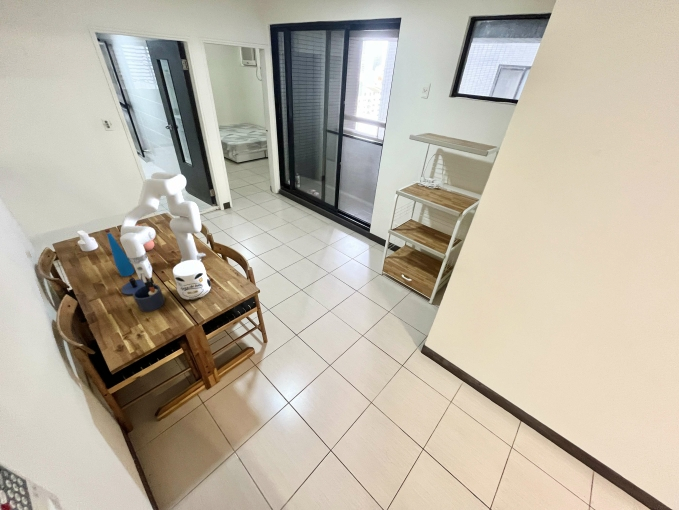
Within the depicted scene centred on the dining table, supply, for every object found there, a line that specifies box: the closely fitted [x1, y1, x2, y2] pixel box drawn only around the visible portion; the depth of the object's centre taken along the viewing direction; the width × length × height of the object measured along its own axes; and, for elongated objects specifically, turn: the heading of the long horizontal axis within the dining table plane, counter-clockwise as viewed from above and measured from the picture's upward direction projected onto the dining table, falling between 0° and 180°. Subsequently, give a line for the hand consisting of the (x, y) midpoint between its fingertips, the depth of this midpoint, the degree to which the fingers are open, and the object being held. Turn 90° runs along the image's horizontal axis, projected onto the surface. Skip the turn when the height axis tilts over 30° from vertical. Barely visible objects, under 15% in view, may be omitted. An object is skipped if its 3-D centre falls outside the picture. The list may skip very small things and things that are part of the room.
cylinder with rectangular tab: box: [76, 229, 99, 252], centre depth 186 cm, size 9×9×12 cm
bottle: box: [104, 228, 136, 277], centre depth 162 cm, size 7×7×30 cm
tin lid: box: [121, 277, 145, 296], centre depth 158 cm, size 13×13×6 cm
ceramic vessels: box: [135, 224, 156, 252], centre depth 194 cm, size 35×21×19 cm, turn 46°
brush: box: [147, 278, 158, 296], centre depth 143 cm, size 4×4×19 cm
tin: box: [132, 283, 166, 313], centre depth 147 cm, size 12×12×9 cm
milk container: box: [172, 260, 212, 301], centre depth 154 cm, size 17×17×18 cm
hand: (150, 285), depth 144 cm, fingers closed on brush, 2 cm apart
